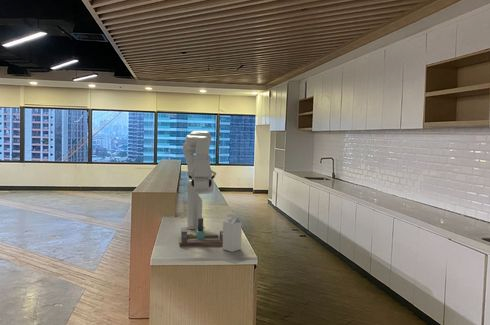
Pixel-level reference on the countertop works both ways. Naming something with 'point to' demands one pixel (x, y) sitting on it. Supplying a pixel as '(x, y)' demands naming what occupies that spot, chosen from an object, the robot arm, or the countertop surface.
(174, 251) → the countertop surface
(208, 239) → the base
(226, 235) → the milk carton
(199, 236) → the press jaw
